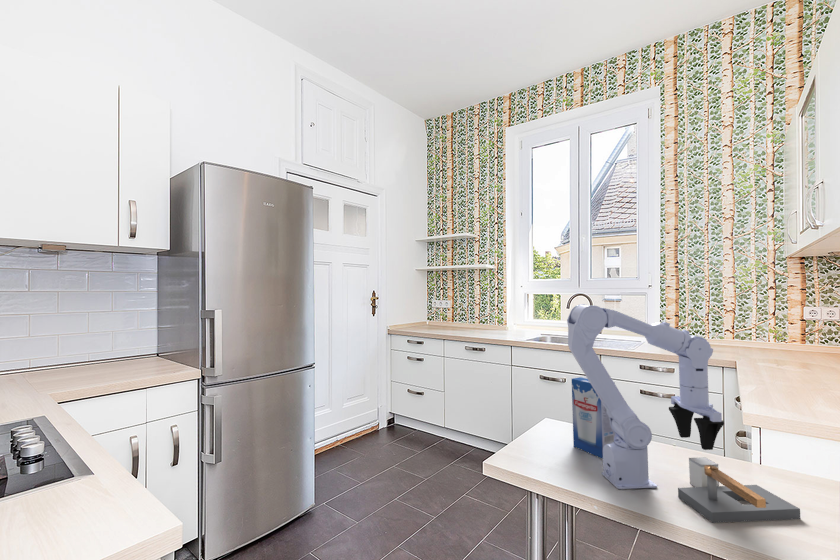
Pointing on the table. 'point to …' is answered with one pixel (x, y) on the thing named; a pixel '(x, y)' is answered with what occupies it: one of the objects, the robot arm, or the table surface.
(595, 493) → the table surface
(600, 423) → the milk carton
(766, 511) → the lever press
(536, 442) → the table surface
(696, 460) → the plug
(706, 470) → the wooden square stick
